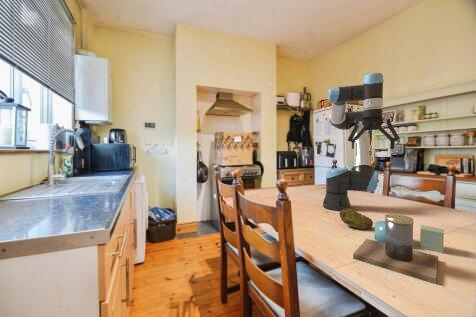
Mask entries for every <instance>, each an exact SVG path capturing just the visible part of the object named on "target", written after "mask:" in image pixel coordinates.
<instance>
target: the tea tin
mask: <svg viewBox="0 0 476 317" xmlns="http://www.w3.org/2000/svg"><path fill="white" fill-rule="evenodd" d="M384 221H385V254H386V255H387V256H388V257H390V258H392V259H395V260H399V261H412V260H413V250H414V222H415V221H414V218H412V217H411V216H408V215H403V214H394V213H390V214H385V215H384Z"/></svg>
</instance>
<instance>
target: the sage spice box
mask: <svg viewBox="0 0 476 317" xmlns="http://www.w3.org/2000/svg"><path fill="white" fill-rule="evenodd" d="M419 230H420V233H419V234H420V235H419V236H420V237H419V248H420V249H422V250H427V251H430V252H435V253H439V254H444V234H445V228H442V227H441V228H440V227H434V226H428V225H424V224H422V225H421V226H420V229H419Z"/></svg>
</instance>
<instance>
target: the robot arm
mask: <svg viewBox="0 0 476 317" xmlns="http://www.w3.org/2000/svg"><path fill="white" fill-rule="evenodd" d="M383 96H384V75H383V73H381V72H373V73H369V74H366V75H364V77H363V82H362V84H357V85H355V84H354V85H346V86H336V87H330V88H329V89H328V103H331V109H330V110H331V112H330V113H329V118H328V120H329V123H330V125H331V126H332V127H334V128H336V129H338V130H342V131H343V130H344V131H347V130H348V131H349V133H350V134H349V136H348V139H347V142H350V143H351V149H352V152H353V153H352V154H353V156H352V157H353V166H351V170H349V168H348V167H334V168H329V169H327V170H326V174H325V175H326V176H325V180H326V181H325V195H324V196H325V197H324V199H323V201H322V207H323V208H324V209H325V210H331V211H336V212H337V211H339V212H340V211H341V210H343V209H347V208H348V209H352V204H351V202H350V199H349V196H348V195H349V194H348V191H349V192H350V191H352V192H365V193H366V192H367V193H368V192H375V191H376V190H377V187H378V183H379V171H378V170H375V167H374V166H373V165H372V164H371V156H370V144H369V132H370V131H377V130H378V131H379V132H380V133H382V134H383V135H384V136H385V137H386V138H387V140H389V141H388V143H387V157H388V158H390V157H392V150H394V149H395V143H396V141H399V140H401V138H400V136H399V134H398V133H397V131H396V129H395V127H394V125H393V124H392V119H391V118H387V119H383V112H384V111H383V105H384V102H383V101H384V100H383V99H384V98H383ZM358 101H362V103H363V104H362V106H363V107H362V109H363V110H359V111H358V110H357V111H346V109H347V103H348V102H358ZM383 124H385V125H387V127H388V130H390V132H391V134H392V136H391V134H390V133H389V132H388V131H386V129H385V128H384V127H383Z"/></svg>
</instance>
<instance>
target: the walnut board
mask: <svg viewBox="0 0 476 317" xmlns="http://www.w3.org/2000/svg"><path fill="white" fill-rule="evenodd" d="M352 258H353V259H354V260H357V261H361V262H362V263H363V262H364V263H367V264H370V265H373V266H376V267H379V268H382V269H383V268H384V269H386V270H389V271H391V272H395V273H398V274H402V275H405V276H409V277H412V278H415V279H419V280H421V281H423V282H424V281H425V282H428V283H431V284H435V285H437V284H436V283H437V276H438V268H439V267H438V265H439V255H435V254H431V253H426V252H422V251H419V250H414V249H413V260H412V261H399V260H395V259H392V258H390V257H388V256H387V255H386V254H385V243H382V242H378V241H376V240H375V239H374V240H373V239H369V238H366V239H365V240H363V242H362V243H361V244H360V245H359V247H358V248H357V249H356V250H355V251H354V252H353V253H352Z"/></svg>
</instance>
